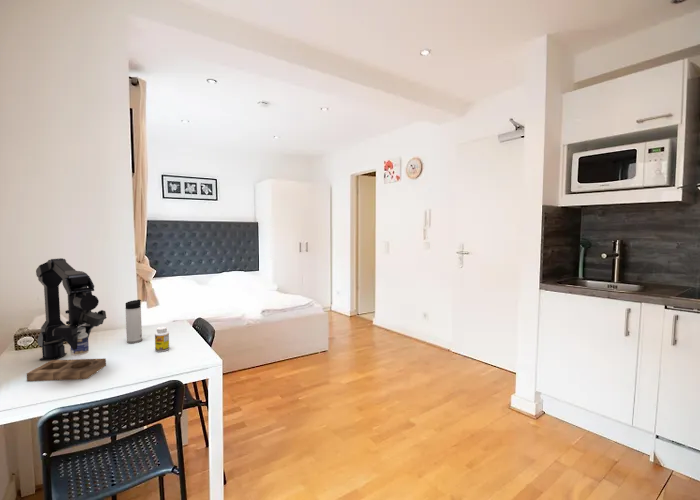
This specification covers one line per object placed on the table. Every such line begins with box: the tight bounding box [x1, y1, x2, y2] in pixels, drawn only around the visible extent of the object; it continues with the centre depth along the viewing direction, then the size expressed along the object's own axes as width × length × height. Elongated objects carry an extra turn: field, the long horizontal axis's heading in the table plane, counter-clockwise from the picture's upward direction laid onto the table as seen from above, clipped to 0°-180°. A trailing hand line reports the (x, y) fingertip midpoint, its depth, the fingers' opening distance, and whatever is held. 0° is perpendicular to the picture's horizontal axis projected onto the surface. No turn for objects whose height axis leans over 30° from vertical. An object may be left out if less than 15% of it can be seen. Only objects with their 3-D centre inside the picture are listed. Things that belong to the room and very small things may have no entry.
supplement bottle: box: [154, 326, 170, 353], centre depth 155 cm, size 6×6×10 cm
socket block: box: [26, 358, 107, 382], centre depth 131 cm, size 20×12×3 cm, turn 96°
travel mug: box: [124, 299, 143, 344], centre depth 166 cm, size 6×7×20 cm
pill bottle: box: [70, 327, 90, 357], centre depth 131 cm, size 5×5×10 cm
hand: (79, 346), depth 131 cm, fingers closed on pill bottle, 5 cm apart
